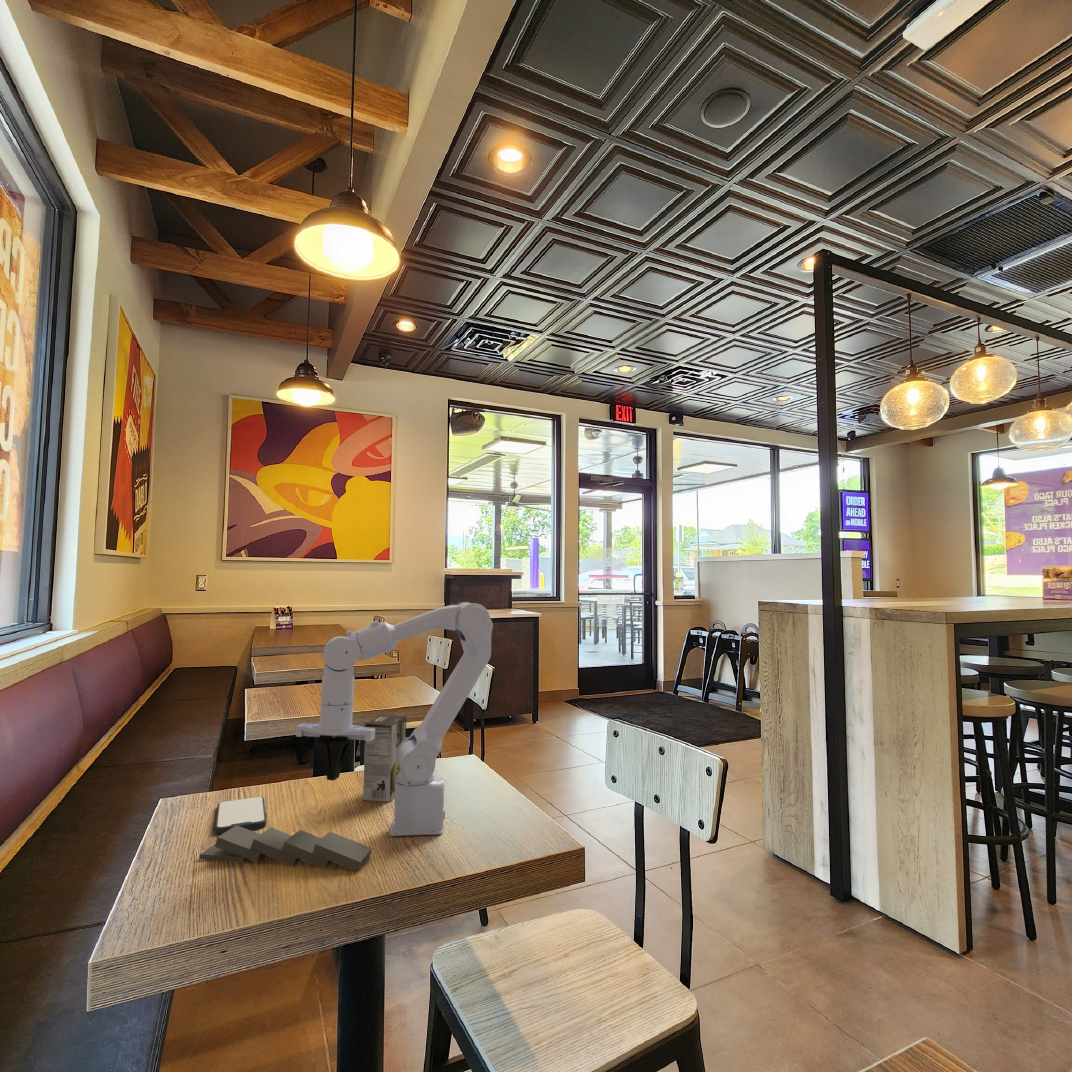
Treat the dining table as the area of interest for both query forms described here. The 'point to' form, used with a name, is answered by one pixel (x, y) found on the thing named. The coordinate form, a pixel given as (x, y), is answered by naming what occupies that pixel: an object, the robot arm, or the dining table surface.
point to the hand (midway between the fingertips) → (333, 778)
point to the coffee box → (383, 757)
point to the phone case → (240, 814)
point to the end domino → (221, 855)
